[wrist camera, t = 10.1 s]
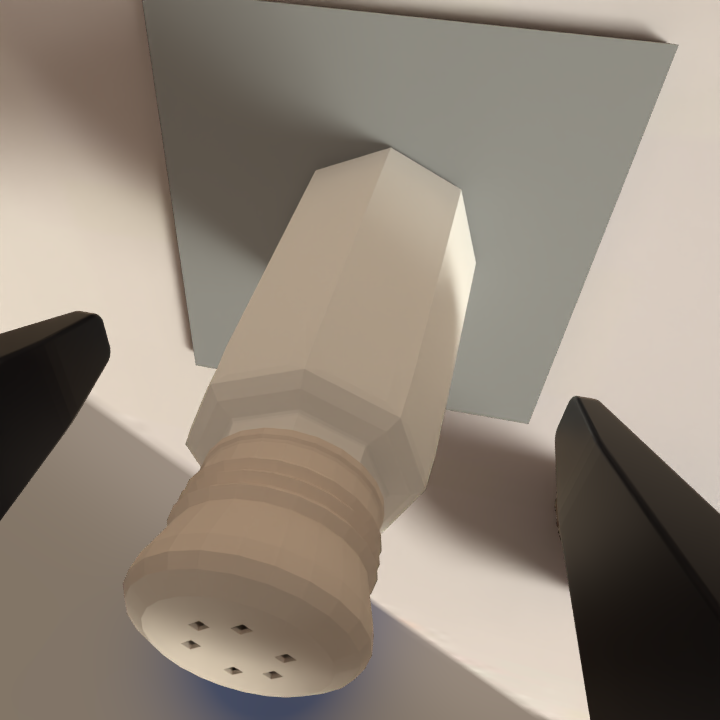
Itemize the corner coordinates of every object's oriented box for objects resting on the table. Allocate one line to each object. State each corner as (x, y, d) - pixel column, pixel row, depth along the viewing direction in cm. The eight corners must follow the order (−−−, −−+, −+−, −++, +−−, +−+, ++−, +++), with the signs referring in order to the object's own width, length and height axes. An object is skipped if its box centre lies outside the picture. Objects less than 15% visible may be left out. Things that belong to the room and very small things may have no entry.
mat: (668, 43, 11) (678, 45, 10) (526, 412, 17) (528, 424, 17) (153, -11, 12) (140, -12, 11) (202, 355, 18) (195, 365, 18)
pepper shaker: (251, 228, 14) (-89, 577, 6) (397, 96, 12) (191, 360, 3) (368, 354, 16) (254, 764, 7) (516, 266, 14) (611, 737, 5)
